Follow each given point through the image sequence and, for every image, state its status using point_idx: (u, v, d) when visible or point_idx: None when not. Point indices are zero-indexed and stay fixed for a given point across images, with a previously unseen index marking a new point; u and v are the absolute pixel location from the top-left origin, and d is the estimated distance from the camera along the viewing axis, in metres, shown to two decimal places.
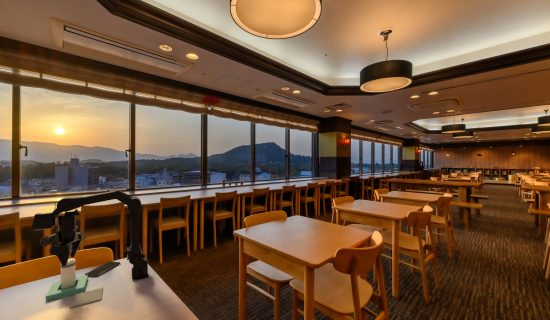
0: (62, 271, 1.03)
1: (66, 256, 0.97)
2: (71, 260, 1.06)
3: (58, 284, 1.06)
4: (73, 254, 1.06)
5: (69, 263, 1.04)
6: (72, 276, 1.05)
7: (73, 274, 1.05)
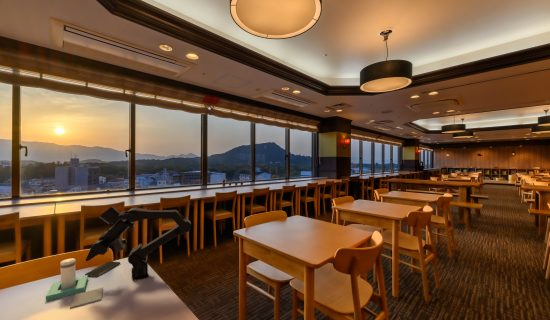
0: (62, 271, 1.03)
1: None
2: (71, 260, 1.06)
3: (58, 284, 1.06)
4: None
5: (69, 263, 1.04)
6: (72, 276, 1.05)
7: (73, 274, 1.05)
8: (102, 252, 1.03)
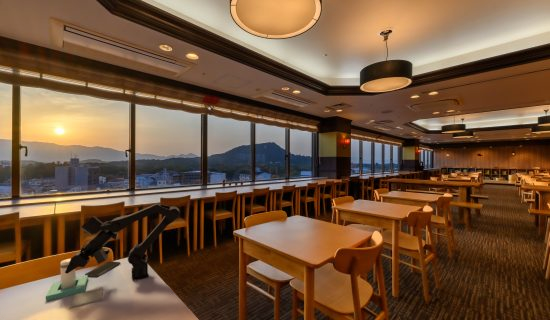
0: (62, 271, 1.03)
1: None
2: None
3: (58, 284, 1.06)
4: None
5: None
6: (72, 276, 1.05)
7: (73, 274, 1.05)
8: (82, 264, 1.00)
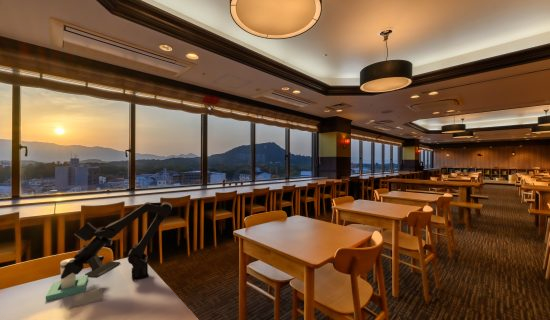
0: (62, 271, 1.03)
1: None
2: None
3: (58, 284, 1.06)
4: None
5: None
6: (72, 276, 1.05)
7: (73, 274, 1.05)
8: (75, 272, 0.99)
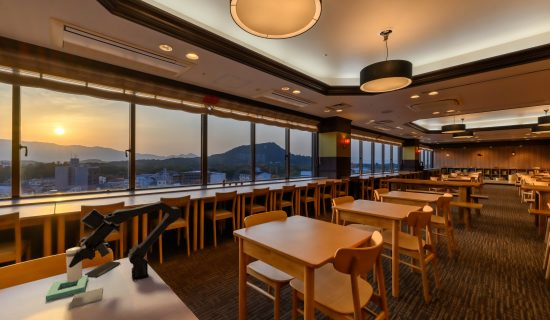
0: (69, 260, 0.99)
1: None
2: (77, 248, 1.02)
3: (58, 284, 1.06)
4: None
5: None
6: (80, 264, 1.01)
7: (81, 263, 1.02)
8: (90, 257, 0.97)
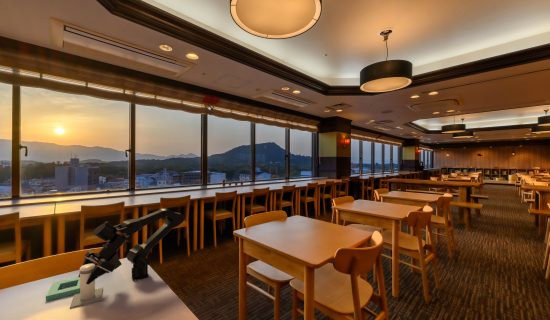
0: (85, 277, 0.97)
1: None
2: (91, 265, 1.00)
3: (58, 284, 1.06)
4: None
5: (92, 267, 0.99)
6: (94, 281, 1.00)
7: None
8: (111, 269, 0.98)
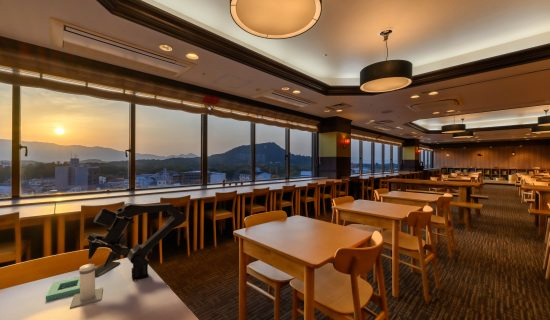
0: (85, 277, 0.97)
1: None
2: (91, 265, 1.00)
3: (58, 284, 1.06)
4: None
5: (92, 267, 0.99)
6: (94, 281, 1.00)
7: (94, 279, 1.00)
8: (126, 252, 1.07)
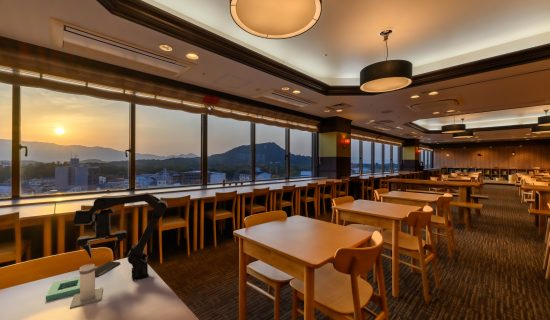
0: (85, 277, 0.97)
1: None
2: (91, 265, 1.00)
3: (58, 284, 1.06)
4: (114, 251, 1.13)
5: (92, 267, 0.99)
6: (94, 281, 1.00)
7: (94, 279, 1.00)
8: None
